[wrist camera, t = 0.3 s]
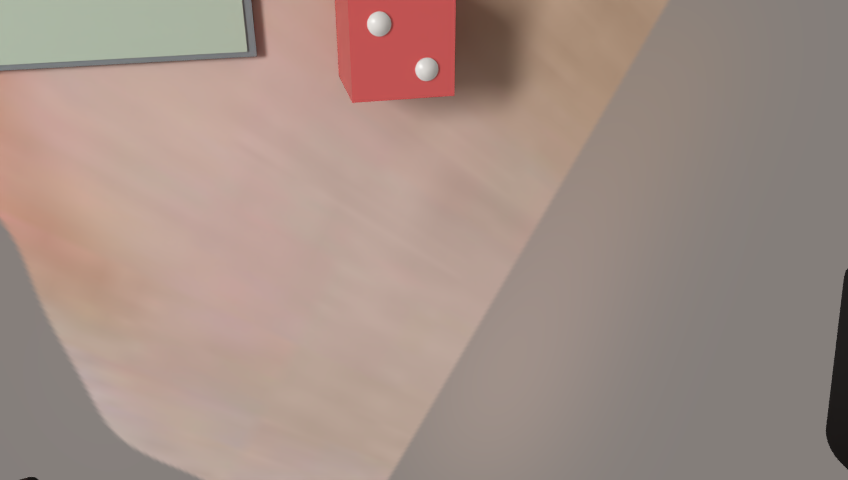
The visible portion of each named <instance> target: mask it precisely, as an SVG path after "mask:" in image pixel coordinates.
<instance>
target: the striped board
mask: <svg viewBox="0 0 848 480" xmlns="http://www.w3.org/2000/svg"><path fill="white" fill-rule="evenodd" d="M252 56H257V53H256V43H255V33H254V23H253V13H252V4H251V0H0V71H2V70H20V69H38V68H55V67H73V66H91V65H109V64H127V63H145V62H163V61H180V60H198V59H216V58H234V57H252Z"/></svg>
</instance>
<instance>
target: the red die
mask: <svg viewBox="0 0 848 480" xmlns="http://www.w3.org/2000/svg"><path fill="white" fill-rule="evenodd" d="M335 9H336V28H337V46H338V65H339V77H340V79H341V81H342V83H343V85H344V87H345V89H346V91H347V93H348V95H349V97H350V99H351V101H352V103H355V102H370V101H384V100H399V99H413V98H427V97H442V96H454V88H455V14H456V0H335Z"/></svg>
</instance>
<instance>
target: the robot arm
mask: <svg viewBox="0 0 848 480" xmlns="http://www.w3.org/2000/svg"><path fill="white" fill-rule="evenodd" d="M826 436H827V440H828V443H829V446H830V448H831V450H832V452H833V453H834V455H835V456H836V457H837V459H838V460H839V461H840V462H841V463H842V464H843V465H844V466H845V467H846V468H847V469H848V269H847V270H846V272H845V276H844V283H843V291H842V299H841V307H840V317H839V324H838V333H837V341H836V350H835V358H834V366H833V375H832V383H831V392H830V400H829V408H828V417H827V425H826ZM21 480H38V479H37V478H35V477H28V478H24V479H21Z"/></svg>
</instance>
